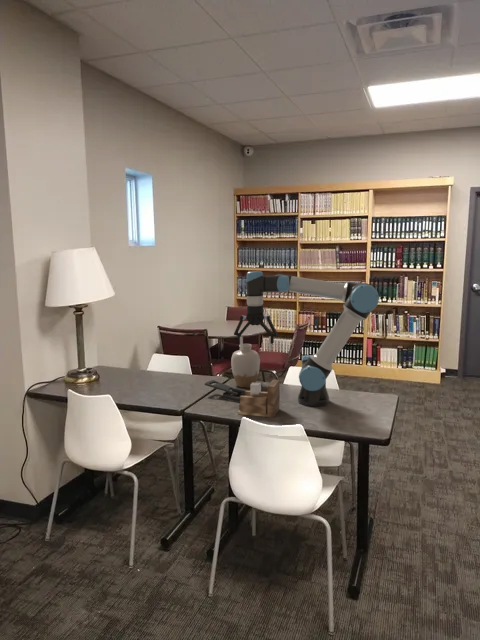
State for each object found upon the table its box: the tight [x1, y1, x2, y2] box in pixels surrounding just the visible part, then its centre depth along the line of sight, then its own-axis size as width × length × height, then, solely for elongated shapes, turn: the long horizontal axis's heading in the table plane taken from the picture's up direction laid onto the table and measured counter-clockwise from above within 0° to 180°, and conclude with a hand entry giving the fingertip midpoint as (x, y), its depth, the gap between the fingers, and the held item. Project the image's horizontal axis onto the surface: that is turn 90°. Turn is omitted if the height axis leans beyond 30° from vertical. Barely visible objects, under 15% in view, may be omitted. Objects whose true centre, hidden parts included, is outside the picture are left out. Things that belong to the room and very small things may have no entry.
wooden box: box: [237, 379, 281, 418], centre depth 218 cm, size 17×12×14 cm
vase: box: [230, 343, 261, 389], centre depth 261 cm, size 16×16×23 cm
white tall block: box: [249, 382, 262, 397], centre depth 219 cm, size 4×4×12 cm
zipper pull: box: [204, 379, 249, 403], centre depth 241 cm, size 9×7×25 cm
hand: (255, 350), depth 222 cm, fingers open, 13 cm apart
